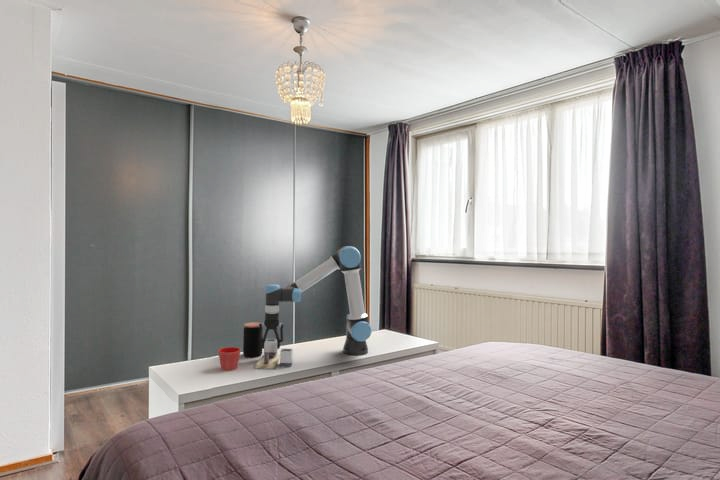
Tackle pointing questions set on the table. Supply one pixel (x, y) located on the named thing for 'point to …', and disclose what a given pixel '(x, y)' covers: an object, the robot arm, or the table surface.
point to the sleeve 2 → (286, 357)
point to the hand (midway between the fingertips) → (270, 354)
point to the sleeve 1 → (270, 347)
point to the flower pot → (229, 358)
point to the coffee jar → (252, 340)
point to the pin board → (271, 365)
